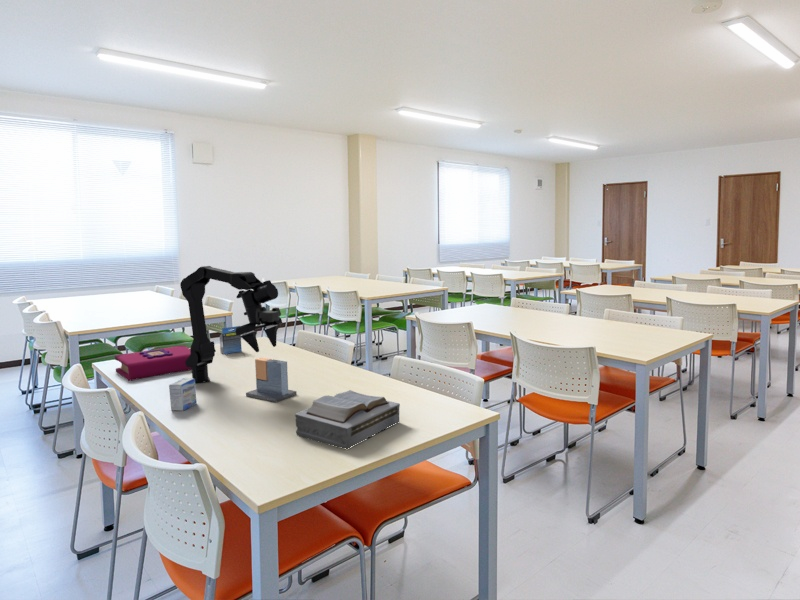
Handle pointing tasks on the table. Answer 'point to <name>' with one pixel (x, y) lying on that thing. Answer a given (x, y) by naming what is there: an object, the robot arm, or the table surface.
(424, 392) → the table surface
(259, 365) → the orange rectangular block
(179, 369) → the book
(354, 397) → the bible
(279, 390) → the stand
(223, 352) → the label tape cartridge
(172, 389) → the medicine box
